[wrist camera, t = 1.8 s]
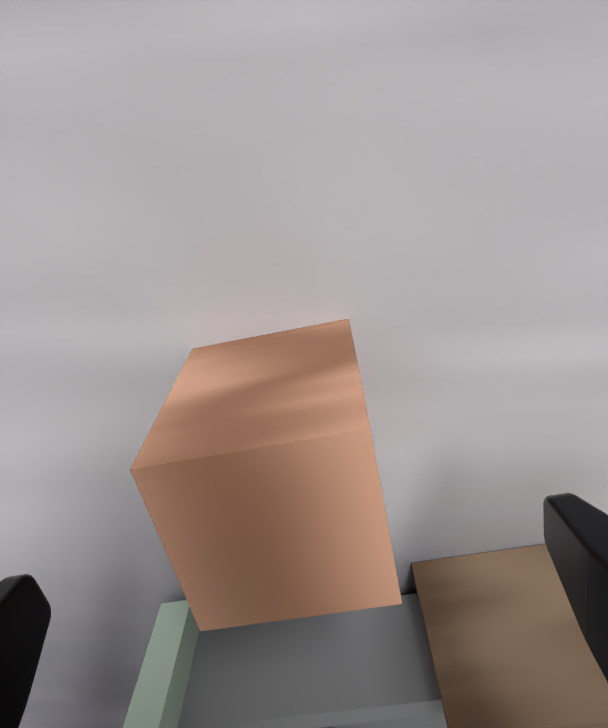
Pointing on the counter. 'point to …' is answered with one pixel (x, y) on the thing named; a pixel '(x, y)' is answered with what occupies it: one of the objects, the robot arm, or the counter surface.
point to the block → (270, 481)
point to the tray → (289, 672)
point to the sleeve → (508, 643)
